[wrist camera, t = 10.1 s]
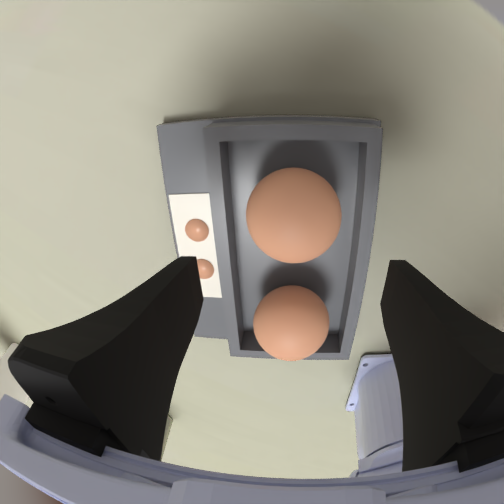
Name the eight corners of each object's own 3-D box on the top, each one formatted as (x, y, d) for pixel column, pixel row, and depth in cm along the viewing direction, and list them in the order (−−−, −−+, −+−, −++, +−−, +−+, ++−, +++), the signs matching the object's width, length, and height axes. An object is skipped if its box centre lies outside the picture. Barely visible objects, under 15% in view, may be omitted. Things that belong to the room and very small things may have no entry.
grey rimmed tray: (349, 334, 25) (353, 361, 22) (197, 328, 26) (188, 353, 24) (376, 119, 16) (391, 125, 13) (162, 123, 18) (142, 131, 15)
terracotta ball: (332, 236, 19) (343, 283, 15) (253, 235, 20) (242, 281, 16) (336, 159, 17) (353, 185, 12) (249, 158, 17) (235, 184, 13)
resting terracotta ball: (323, 325, 23) (326, 376, 19) (259, 323, 24) (250, 374, 19) (329, 270, 21) (336, 321, 16) (255, 269, 21) (245, 319, 17)
